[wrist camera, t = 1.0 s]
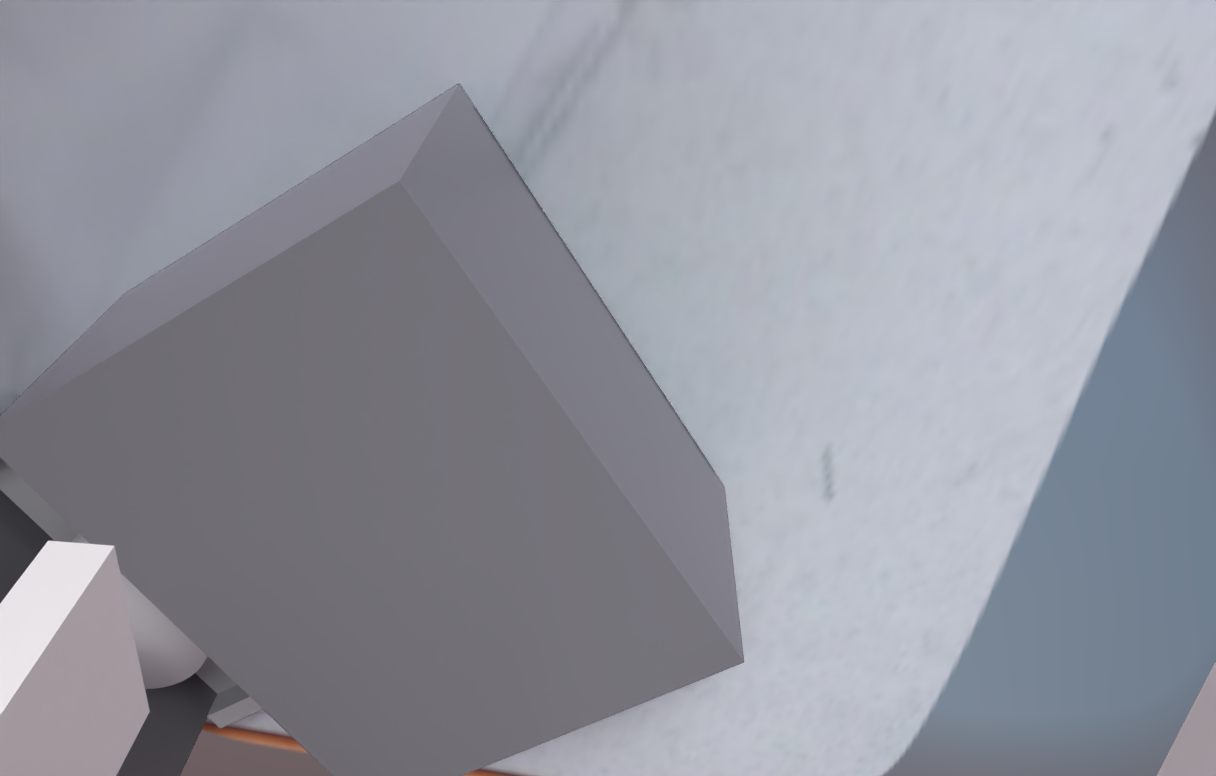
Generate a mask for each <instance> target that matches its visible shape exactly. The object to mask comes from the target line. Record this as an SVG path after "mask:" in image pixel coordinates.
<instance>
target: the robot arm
mask: <svg viewBox="0 0 1216 776" xmlns="http://www.w3.org/2000/svg"><path fill="white" fill-rule="evenodd" d="M149 712H150V710H149V705H148V701H147V696H146V691H145V687H144V682H143V677H142V673H141V668H140V663H139V659H138V654H137V649H136V644H135V640H134V635H133V630H132V626H131V621H130V616H129V612H128V607H127V602H126V598H125V593H124V588H123V583H122V579H121V574H120V569H119V565H118V560H117V555H116V551H115V546H111V545H98V544H85V543H72V542H59V541H48V542H47V543H46V544H45V546H44V547H43V548H42V549H41V551H40V552H39V553H38V555H37V556H36V557H35V559H34V560H33V561H32V563H31V564H30V565H29V566H28V568H27V569H26V570H25V572H24V573H23V574H22V576H21V577H20V578H19V580H18V581H17V582H16V584H15V585H14V586H13V587H12V589H11V590H10V591H9V593H8V594H7V595H6V597H5V598H4V599H3V601H2V602H1V603H0V776H116V775H117V773H118V772H119V770H120V768H121V766H122V764H123V762H124V760H125V758H126V756H127V754H128V752H129V750H130V748H131V747H132V745H133V743H134V741H135V739H136V737H137V735H138V733H139V731H140V729H141V727H142V725H143V723H144V721H145V720H146V718H147V716H148V714H149ZM1157 776H1216V662H1215V664H1214V666H1213V668H1212V670H1211V672H1210V674H1209V675H1208V678H1207V679H1206V681H1205V683H1204V685H1203V687H1202V689H1201V691H1200V693H1199V695H1198V697H1197V699H1196V701H1195V703H1194V705H1193V707H1192V708H1191V711H1190V712H1189V714H1188V716H1187V718H1186V720H1185V722H1184V724H1183V726H1182V728H1181V730H1180V732H1179V734H1178V736H1177V738H1176V739H1175V741H1174V743H1173V746H1172V747H1171V749H1170V751H1169V753H1168V755H1167V757H1166V759H1165V761H1164V763H1163V765H1162V767H1161V769H1160V771H1159V773H1158V775H1157Z"/></svg>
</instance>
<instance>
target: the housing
mask: <svg viewBox="0 0 1216 776" xmlns="http://www.w3.org/2000/svg"><path fill="white" fill-rule="evenodd" d="M0 458H1V459H2V460H3V461H4V462H5V463H6V464H7V465H9V466H10V467H11V468H12V469H13V470H14V471H15V472H16V473H17V474H18V475H19V476H20V477H21V478H22V479H23V480H24V481H25V482H26V483H27V484H28V485H29V486H30V487H31V488H33V489H34V490H35V491H36V492H37V493H38V494H39V495H40V496H41V497H42V498H43V499H44V500H45V501H46V502H47V503H48V504H49V505H50V506H51V507H52V508H53V509H54V510H55V511H57V512H58V513H59V514H60V515H61V516H62V517H63V518H64V519H65V520H66V521H67V522H68V523H69V524H70V525H71V526H72V527H73V528H74V529H75V530H76V531H77V532H78V533H80V534H81V535H82V536H83V537H84V538H85V539H86V540H87V541H88V542H89V543H90V544H98V545H111V546H115V551H116V555H117V560H118V565H119V569H120V573H121V574H122V575H123V576H124V577H125V578H126V579H128V580H129V581H130V582H131V583H132V584H133V585H134V586H135V587H136V588H137V589H138V590H139V591H140V592H141V593H142V594H143V595H144V596H145V597H146V598H147V599H148V600H149V601H151V602H152V603H153V604H154V605H155V606H156V607H157V608H158V609H159V610H160V611H161V612H162V613H163V614H164V615H165V616H166V617H167V618H168V619H169V620H170V621H171V622H172V623H173V624H175V625H176V626H177V627H178V628H179V629H180V630H181V631H182V632H183V633H184V634H185V635H186V636H187V637H188V638H189V639H190V640H191V641H192V642H193V643H194V644H195V645H196V646H198V647H199V648H200V649H201V650H202V651H203V652H204V653H205V654H206V655H207V656H208V657H209V658H210V659H211V660H212V661H213V662H214V663H215V664H216V665H217V666H218V667H219V668H220V669H222V670H223V671H224V672H225V673H226V674H227V675H228V676H229V677H230V678H231V679H232V680H233V681H234V682H235V683H236V684H237V685H238V686H239V687H240V688H241V689H242V690H243V691H244V692H246V693H247V694H248V695H249V696H250V697H251V698H252V699H253V700H254V701H255V702H256V703H257V704H258V705H259V706H260V707H261V708H262V709H263V710H264V711H265V712H266V713H267V714H269V715H270V716H271V717H272V718H273V719H274V720H275V721H276V722H277V723H278V724H279V725H280V726H281V727H282V728H283V729H284V730H285V731H286V732H287V733H288V734H289V735H290V736H291V737H293V738H294V739H295V740H296V741H297V742H298V743H299V744H300V745H301V746H302V747H303V748H304V749H305V750H306V751H307V752H308V753H309V754H310V755H311V756H312V757H313V758H314V759H316V760H317V761H318V762H319V763H320V764H321V765H322V766H323V767H324V768H325V769H326V770H327V771H328V772H329V773H330V774H331V775H332V776H462V775H465V774H467V773H470V772H472V771H475V770H477V769H480V768H482V767H485V766H487V765H490V764H492V763H495V762H497V761H500V760H502V759H505V758H507V757H510V756H512V755H515V754H517V753H520V752H522V751H525V750H527V749H530V748H532V747H534V746H537V745H539V744H542V743H544V742H547V741H549V740H552V739H554V738H557V737H559V736H562V735H564V734H567V733H569V732H572V731H574V730H577V729H579V728H582V727H584V726H587V725H589V724H592V723H594V722H597V721H599V720H602V719H604V718H607V717H609V716H612V715H614V714H617V713H619V712H622V711H624V710H627V709H629V708H632V707H634V706H637V705H639V704H642V703H644V702H647V701H649V700H651V699H654V698H656V697H659V696H661V695H664V694H666V693H669V692H671V691H674V690H676V689H679V688H681V687H684V686H686V685H689V684H691V683H694V682H696V681H699V680H701V679H704V678H706V677H709V676H711V675H714V674H716V673H719V672H721V671H724V670H726V669H729V668H731V667H734V666H736V665H739V664H741V663H744V656H743V647H742V638H741V629H740V620H739V611H738V602H737V593H736V585H735V576H734V567H733V558H732V549H731V540H730V531H729V522H728V513H727V504H726V496H725V487H724V485H723V483H722V482H721V480H720V479H719V477H718V476H717V474H716V473H715V471H714V470H713V468H712V467H711V465H710V464H709V462H708V461H707V459H706V458H705V456H704V455H703V453H702V451H701V450H700V448H699V447H698V445H697V444H696V442H695V441H694V439H693V438H692V436H691V435H690V433H689V432H688V430H687V429H686V427H685V426H684V424H683V423H682V421H681V420H680V418H679V416H678V415H677V413H676V412H675V410H674V409H673V407H672V406H671V404H670V403H669V401H668V400H667V398H666V397H665V395H664V394H663V392H662V391H661V389H660V388H659V386H658V385H657V383H656V382H655V380H654V378H653V377H652V375H651V374H650V372H649V371H648V369H647V368H646V366H645V365H644V363H643V362H642V360H641V359H640V357H639V356H638V354H637V353H636V351H635V350H634V348H633V347H632V345H631V344H630V342H629V340H628V339H627V337H626V336H625V334H624V333H623V331H622V330H621V328H620V327H619V325H618V324H617V322H616V321H615V319H614V318H613V316H612V315H611V313H610V312H609V310H608V309H607V307H606V306H605V304H604V302H603V301H602V299H601V298H600V296H599V295H598V293H597V292H596V290H595V289H594V287H593V286H592V284H591V283H590V281H589V280H588V278H587V277H586V275H585V274H584V272H583V271H582V269H581V268H580V266H579V264H578V263H577V261H576V260H575V258H574V257H573V255H572V254H571V252H570V251H569V249H568V248H567V246H566V245H565V243H564V242H563V240H562V239H561V237H560V236H559V234H558V233H557V231H556V230H555V228H554V226H553V225H552V223H551V222H550V220H549V219H548V217H547V216H546V214H545V213H544V211H543V210H542V208H541V207H540V205H539V204H538V202H537V201H536V199H535V198H534V196H533V195H532V193H531V192H530V190H529V188H528V187H527V185H526V184H525V182H524V181H523V179H522V178H521V176H520V175H519V173H518V172H517V170H516V169H515V167H514V166H513V164H512V163H511V161H510V160H509V158H508V157H507V155H506V154H505V152H504V150H503V149H502V147H501V146H500V144H499V143H498V141H497V140H496V138H495V137H494V135H493V134H492V132H491V131H490V129H489V128H488V126H487V125H486V123H485V122H484V120H483V119H482V117H481V116H480V114H479V112H478V111H477V109H476V108H475V106H474V105H473V103H472V102H471V100H470V99H469V97H468V96H467V94H466V93H465V91H464V90H463V88H462V87H461V85H460V84H457V85H456V86H454V87H453V88H451V89H449V90H448V91H446V92H445V93H443V94H441V95H440V96H438V97H437V98H435V99H434V100H432V101H430V102H429V103H427V104H426V105H424V106H422V107H421V108H419V109H418V110H416V111H414V112H413V113H411V114H410V115H408V116H406V117H405V118H403V119H402V120H400V121H398V122H397V123H395V124H394V125H392V126H391V127H389V128H387V129H386V130H384V131H383V132H381V133H379V134H378V135H376V136H375V137H373V138H371V139H370V140H368V141H367V142H365V143H363V144H362V145H360V146H359V147H357V148H356V149H354V150H352V151H351V152H349V153H348V154H346V155H344V156H343V157H341V158H340V159H338V160H336V161H335V162H333V163H332V164H330V165H328V166H327V167H325V168H324V169H322V170H320V171H319V172H317V173H316V174H314V175H313V176H311V177H309V178H308V179H306V180H305V181H303V182H301V183H300V184H298V185H297V186H295V187H293V188H292V189H290V190H289V191H287V192H285V193H284V194H282V195H281V196H279V197H278V198H276V199H274V200H273V201H271V202H270V203H268V204H266V205H265V206H263V207H262V208H260V209H258V210H257V211H255V212H254V213H252V214H250V215H249V216H247V217H246V218H244V219H243V220H241V221H239V222H238V223H236V224H235V225H233V226H231V227H230V228H228V229H227V230H225V231H223V232H222V233H220V234H219V235H217V236H215V237H214V238H212V239H211V240H209V241H207V242H206V243H204V244H203V245H201V246H200V247H198V248H196V249H195V250H193V251H192V252H190V253H188V254H187V255H185V256H184V257H182V258H180V259H179V260H177V261H176V262H174V263H172V264H171V265H169V266H168V267H166V268H165V269H163V270H161V271H160V272H158V273H157V274H155V275H153V276H152V277H150V278H149V279H147V280H145V281H144V282H142V283H141V284H139V285H137V286H136V287H134V288H133V289H131V290H129V291H128V292H126V293H125V294H123V295H122V296H121V297H120V298H119V299H118V300H117V301H116V302H115V303H114V304H113V305H112V306H111V307H110V308H109V309H108V310H107V311H106V312H105V313H104V314H103V315H102V316H101V317H100V318H99V319H98V320H97V321H96V322H95V323H94V324H93V325H92V326H91V327H90V328H89V329H88V330H87V331H86V332H85V333H84V334H83V335H82V336H81V337H80V338H79V339H78V340H77V341H75V342H74V343H73V344H72V345H71V346H70V347H69V348H68V349H67V350H66V351H65V352H64V353H63V354H62V355H61V356H60V357H59V358H58V359H57V360H56V361H55V362H54V363H53V364H52V365H51V366H50V367H49V368H48V369H47V370H46V371H45V372H44V373H43V374H42V375H41V376H40V377H39V378H38V379H37V380H36V381H35V382H34V383H33V384H32V385H31V386H30V387H29V388H28V389H27V390H26V391H25V392H24V393H23V394H22V395H21V396H19V397H18V398H17V399H16V400H15V401H14V402H13V403H12V404H11V405H10V406H9V407H8V408H7V409H6V410H5V411H4V412H3V413H2V414H1V415H0Z"/></svg>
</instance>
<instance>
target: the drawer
mask: <svg viewBox="0 0 1216 776" xmlns="http://www.w3.org/2000/svg"><path fill="white" fill-rule="evenodd" d="M48 541H59V542H72V543H85V544H90V543H89V542H88V541H87V540H86V539H85V538H84V537H83V536H82V535H81V534H80V533H78V532H77V531H76V530H75V529H74V528H73V527H72V526H71V525H70V524H69V523H68V522H67V521H66V520H65V519H64V518H63V517H62V516H61V515H60V514H59V513H58V512H57V511H55V510H54V509H53V508H52V507H51V506H50V505H49V504H48V503H47V502H46V501H45V500H44V499H43V498H42V497H41V496H40V495H39V494H38V493H37V492H36V491H35V490H34V489H33V488H31V487H30V486H29V485H28V484H27V483H26V482H25V481H24V480H23V479H22V478H21V477H20V476H19V475H18V474H17V473H16V472H15V471H14V470H13V469H12V468H11V467H10V466H9V465H7V464H6V463H5V462H4V461H3V460H2V459H1V458H0V603H1V602H2V601H3V599H4V598H5V597H6V595H7V594H8V593H9V591H10V590H11V589H12V587H13V586H14V585H15V584H16V582H17V581H18V580H19V578H20V577H21V576H22V574H23V573H24V572H25V570H26V569H27V568H28V566H29V565H30V564H31V563H32V561H33V560H34V559H35V557H36V556H37V555H38V553H39V552H40V551H41V549H42V548H43V547H44V546H45V544H46V543H47V542H48ZM120 574H121V573H120ZM121 579H122V583H123V588H124V593H125V598H126V602H127V607H128V612H129V616H130V621H131V626H132V630H133V635H134V640H135V644H136V649H137V654H138V659H139V663H140V668H141V673H142V677H143V682H144V687H145V691H146V696H147V701H148V705H149V710H150V712H149V714H148V716H147V718H146V720H145V721H144V723H143V725H142V727H141V729H140V731H139V733H138V735H137V737H136V739H135V741H134V743H133V745H132V747H131V748H130V750H129V752H128V754H127V756H126V758H125V760H124V762H123V764H122V766H121V768H120V770H119V772H118V773H117V775H116V776H180V774H181V772H182V770H183V768H184V766H185V764H186V762H187V760H188V757H189V755H190V753H191V751H192V749H193V746H194V745H195V742H196V740H197V738H198V736H199V734H200V732H201V730H202V728H203V725H204V723H205V721H206V719H207V717H208V718H209V719H210V720H211V721H212V722H214V723H215V724H216V725H217V726H218V727H219V728H223V727H225V726H227V725H229V724H231V723H234V722H236V721H238V720H240V719H243V718H245V717H247V716H249V715H251V714H254V713H256V712H258V711H260V710H262V708H261V707H260V706H259V705H258V704H257V703H256V702H255V701H254V700H253V699H252V698H251V697H250V696H249V695H248V694H247V693H246V692H244V691H243V690H242V689H241V688H240V687H239V686H238V685H237V684H236V683H235V682H234V681H233V680H232V679H231V678H230V677H229V676H228V675H227V674H226V673H225V672H224V671H223V670H222V669H220V668H219V667H218V666H217V665H216V664H215V663H214V662H213V661H212V660H211V659H210V658H209V657H208V656H207V655H206V654H205V653H204V652H203V651H202V650H201V649H200V648H199V647H198V646H196V645H195V644H194V643H193V642H192V641H191V640H190V639H189V638H188V637H187V636H186V635H185V634H184V633H183V632H182V631H181V630H180V629H179V628H178V627H177V626H176V625H175V624H173V623H172V622H171V621H170V620H169V619H168V618H167V617H166V616H165V615H164V614H163V613H162V612H161V611H160V610H159V609H158V608H157V607H156V606H155V605H154V604H153V603H152V602H151V601H149V600H148V599H147V598H146V597H145V596H144V595H143V594H142V593H141V592H140V591H139V590H138V589H137V588H136V587H135V586H134V585H133V584H132V583H131V582H130V581H129V580H128V579H126V578H125V577H124V576H123V575H122V574H121Z"/></svg>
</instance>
